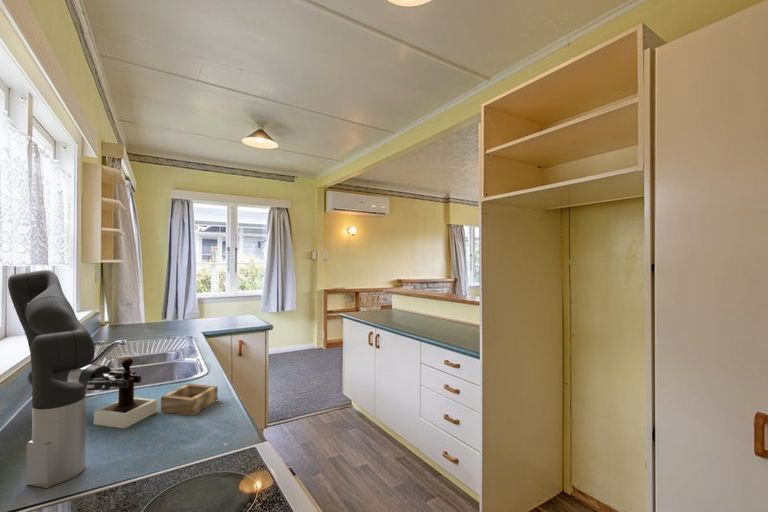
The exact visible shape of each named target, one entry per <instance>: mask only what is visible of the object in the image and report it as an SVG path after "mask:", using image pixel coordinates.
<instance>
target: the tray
mask: <svg viewBox="0 0 768 512" xmlns="http://www.w3.org/2000/svg"><path fill="white" fill-rule="evenodd" d="M134 402H136V403H138V407H137V408H134V409H132V410H130V411H128V412H126V413H122V412H114V411H113V409H114V408H115V407H116V406H117V405H119V400H116V401H114V402H112V403H109V404H108V405H105V406H103V407H100V408H98V409H96V410H93V425H95V426H103V427H109V428H117V429H118V428H119V429H126V428H129V427H130V426H133V425H134V424H136V423H139V422H140V421H141V420H144V419H146V418H147V417H150V416H151V415H154V414H156V413H157V412H158V399H155V398H154V399H152V398H144V397H135V396H134Z"/></svg>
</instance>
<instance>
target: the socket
mask: <svg viewBox="0 0 768 512" xmlns="http://www.w3.org/2000/svg"><path fill="white" fill-rule="evenodd" d="M218 388H219V387H218V385H217V386H216V385H207V384H198V383H197V384H196V383H195V384H194V383H187V384H185V385H183V386H180V387H179V388H177V389H173V390H171V391H170V392H168V393H166V394H163V395H162V396H161V397H160V412H161V413H168V414H175V413H176V414H177V415H185V416H194V415H196V414H198V413H199V412H201V411H202V410H201V409H203V408H204V409H206V408H207V407H206V406H208V405H209V406H211V405H212V404H211V403H213V402H214V403H216V402H217V401H216V400H219V399H218V395H219V393H218ZM215 401H216V402H215ZM214 403H213V404H214ZM210 404H211V405H210ZM209 406H208V407H209ZM205 407H206V408H205ZM204 409H203V410H204ZM200 410H201V411H200ZM198 411H199V412H198ZM197 412H198V413H197ZM195 413H196V414H195Z"/></svg>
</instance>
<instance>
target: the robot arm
mask: <svg viewBox="0 0 768 512" xmlns="http://www.w3.org/2000/svg"><path fill="white" fill-rule="evenodd" d="M7 289H8V292H9V296H10V300H11V302H12V305H13V307H14V309H15V313H16V315H17V317H18V320H19V322H20V324H21V326H22V329H23V331H24V333H25V338H26V340H27V344H28V348H29V349H28V350H29V352H30V365H31V366H30V368H31V370H30V372H28V376H27V381H28V383H29V385H31V389H32V390H31V391H32V394H31V399H32V401H31V440H29V441H27V442H26V482H25V483H26V485H28V486H34V487H39V488H42V489H43V488H45V489H48V488H50V487H53V486H54V485H58V484H61V483H63V482H67V481H68V480H69V481H70V480H71V479H73V478H75V477H76V476H78V475H80V474H81V473H82V472H83V471H84V470H85V468H86V393H87V391H107V390H110V389H116V388H119V387H121V388H127V387H128V386H129V381H128V380H122V379H121V378H124V377H123V374H122V372H123V371H117V370H112V369H111V368H110V366H108V365H101V364H100V365H99V364H92V362H93V360H94V358H95V355H96V348H95V347H96V346H95V342H94V339H93V337H92V335H91V333H89V331H88V330H87V329H86V327H85V326H84V325H83V324H82V323H81V322H80V321H79V319H78V318H77V315H76V313H75V311H74V309H73V307H72V305H71V303H70V302H69V301H68V299H67V297H66V295H65V294H64V291H63V289H62V285H61V283H60V280H59V277H58V276H57V274H56V273H55V272H54V271H52V270H50V269H40V270H33V271H28V272H19V273H13V274H11V275H9V276H8V278H7ZM130 370H131V374H130V377H134V383H136V384H139V383H141V382H142V376H141V375H139V374H136V373H137V371H136V370H133V369H132V368H130ZM86 390H87V391H86Z"/></svg>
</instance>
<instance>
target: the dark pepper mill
mask: <svg viewBox="0 0 768 512" xmlns="http://www.w3.org/2000/svg"><path fill="white" fill-rule="evenodd" d="M133 359H134V358H132V357H131V356H124V357H123V358H122V359H121V362H120V365H121V366H122V367H123V371H121V372H122V374H123V377H124V378H121V379H122V380H128V381H129V386H128V387H127V388H121V387H118V401H119V405H117V406H116V407H115V408H114V409H113V411H114V412H122V413H126V412H128V411H130V410H132V409H134V408H137V407H138V403H136V402H134V397H135V384H134V377H130V374H131V370H132V369H131V366H132V364H133V362H134V360H133ZM130 369H131V370H130Z"/></svg>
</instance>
